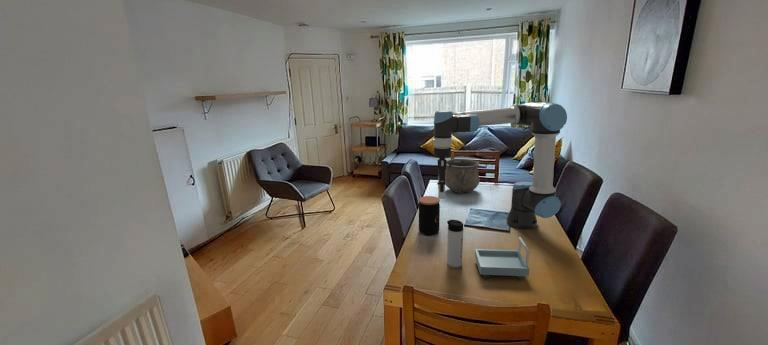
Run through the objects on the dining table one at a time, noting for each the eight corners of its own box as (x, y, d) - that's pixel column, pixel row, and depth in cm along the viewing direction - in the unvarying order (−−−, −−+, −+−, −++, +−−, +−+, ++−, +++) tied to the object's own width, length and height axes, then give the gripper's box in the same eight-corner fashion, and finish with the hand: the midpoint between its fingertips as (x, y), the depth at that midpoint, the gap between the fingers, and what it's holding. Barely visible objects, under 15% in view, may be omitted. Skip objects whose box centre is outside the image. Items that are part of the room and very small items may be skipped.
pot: (443, 196, 217) (444, 166, 212) (443, 185, 240) (443, 158, 234) (481, 197, 213) (482, 166, 208) (477, 186, 236) (478, 158, 230)
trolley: (517, 261, 135) (520, 235, 132) (528, 281, 122) (531, 252, 118) (474, 260, 137) (475, 234, 134) (479, 279, 124) (481, 250, 120)
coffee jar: (438, 237, 159) (439, 203, 154) (417, 235, 161) (417, 202, 157) (439, 228, 169) (440, 196, 165) (419, 226, 171) (419, 195, 167)
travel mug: (444, 261, 137) (445, 218, 132) (459, 260, 138) (460, 217, 132) (448, 269, 131) (449, 225, 126) (464, 268, 132) (465, 223, 126)
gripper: (433, 142, 150) (433, 184, 155) (433, 152, 126) (432, 202, 131) (450, 142, 149) (448, 185, 154) (452, 152, 125) (450, 203, 130)
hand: (441, 193), depth 143 cm, fingers open, 13 cm apart
